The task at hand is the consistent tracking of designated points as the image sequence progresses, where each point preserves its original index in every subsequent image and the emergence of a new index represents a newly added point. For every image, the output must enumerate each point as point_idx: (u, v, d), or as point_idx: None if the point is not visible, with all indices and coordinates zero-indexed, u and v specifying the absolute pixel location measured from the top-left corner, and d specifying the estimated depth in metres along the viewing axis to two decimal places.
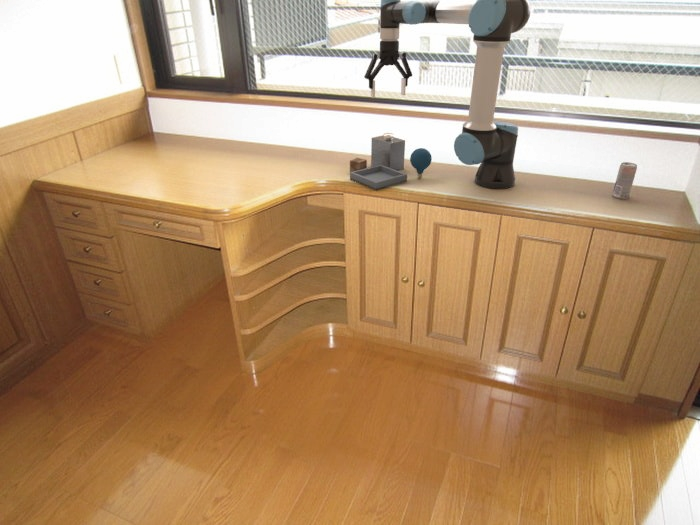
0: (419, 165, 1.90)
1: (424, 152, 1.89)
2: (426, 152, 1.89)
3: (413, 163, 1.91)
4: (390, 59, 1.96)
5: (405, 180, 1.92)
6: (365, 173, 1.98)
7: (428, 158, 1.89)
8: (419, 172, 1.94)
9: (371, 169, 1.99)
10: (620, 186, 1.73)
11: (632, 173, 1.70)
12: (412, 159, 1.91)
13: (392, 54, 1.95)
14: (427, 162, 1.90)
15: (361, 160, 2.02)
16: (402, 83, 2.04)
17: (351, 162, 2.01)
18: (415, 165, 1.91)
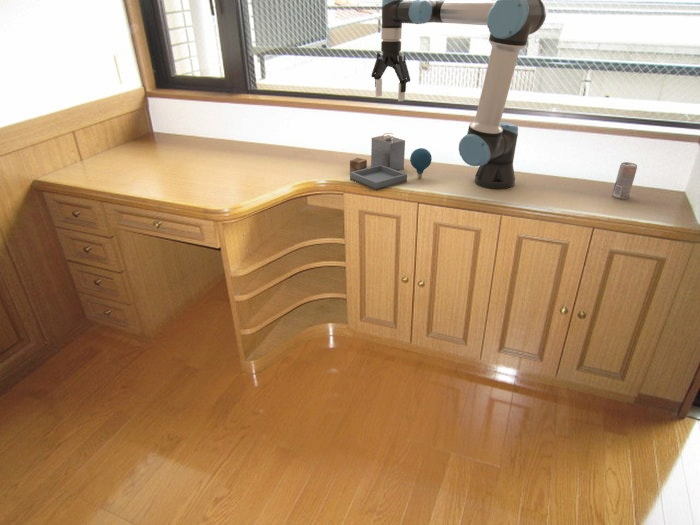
0: (419, 165, 1.90)
1: (424, 152, 1.89)
2: (426, 152, 1.89)
3: (413, 163, 1.91)
4: (388, 60, 1.88)
5: (405, 180, 1.92)
6: (365, 173, 1.98)
7: (428, 158, 1.89)
8: (419, 172, 1.94)
9: (371, 169, 1.99)
10: (620, 186, 1.73)
11: (632, 173, 1.70)
12: (412, 159, 1.91)
13: (390, 55, 1.87)
14: (427, 162, 1.90)
15: (361, 160, 2.02)
16: None
17: (351, 162, 2.01)
18: (415, 165, 1.91)
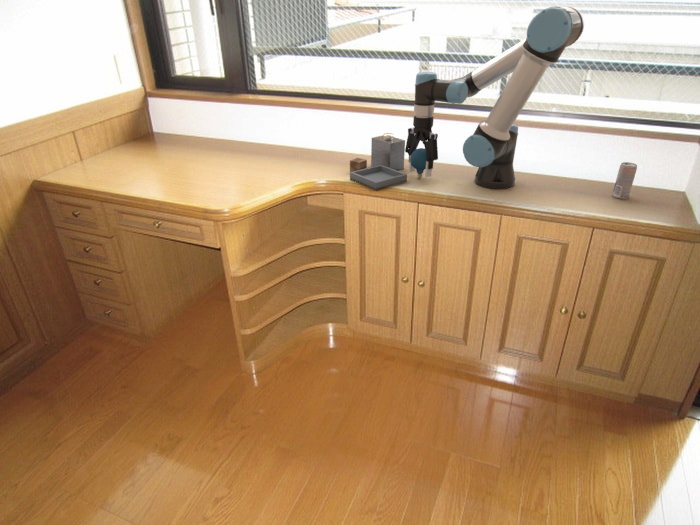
0: (419, 165, 1.90)
1: (424, 152, 1.89)
2: None
3: (413, 163, 1.91)
4: None
5: (405, 180, 1.92)
6: (365, 173, 1.98)
7: None
8: (419, 172, 1.94)
9: (371, 169, 1.99)
10: (620, 186, 1.73)
11: (632, 173, 1.70)
12: (412, 159, 1.91)
13: (423, 129, 1.85)
14: None
15: (361, 160, 2.02)
16: None
17: (351, 162, 2.01)
18: (415, 165, 1.91)
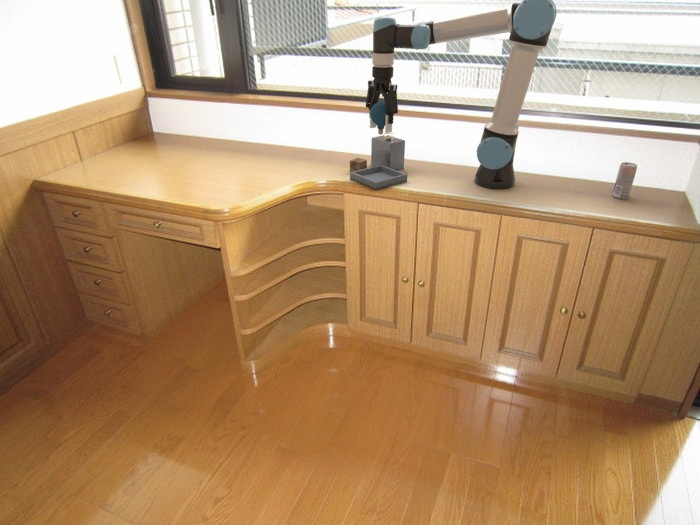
0: (379, 119, 1.79)
1: (384, 106, 1.78)
2: None
3: (373, 117, 1.80)
4: None
5: (405, 180, 1.92)
6: (365, 173, 1.98)
7: None
8: (379, 128, 1.83)
9: (371, 169, 1.99)
10: (620, 186, 1.73)
11: (632, 173, 1.70)
12: (371, 113, 1.80)
13: (382, 80, 1.75)
14: None
15: (361, 160, 2.02)
16: None
17: (351, 162, 2.01)
18: (375, 119, 1.80)
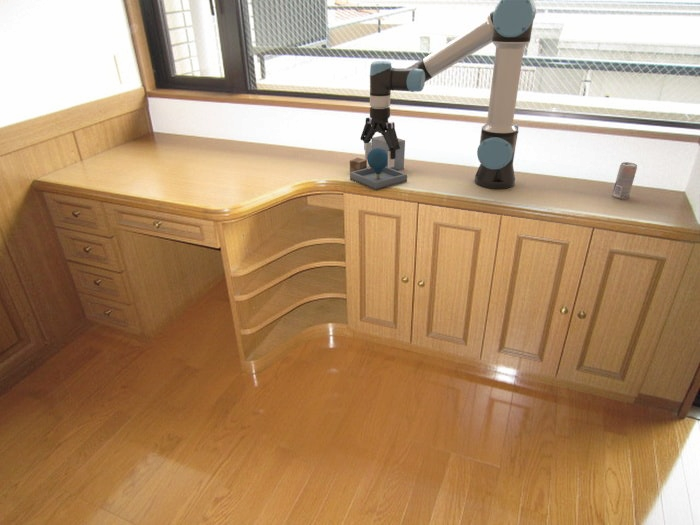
0: (376, 165, 1.87)
1: (380, 152, 1.86)
2: (382, 152, 1.87)
3: (370, 163, 1.88)
4: None
5: (405, 180, 1.92)
6: (365, 173, 1.98)
7: (384, 157, 1.87)
8: (377, 172, 1.91)
9: (371, 169, 1.99)
10: (620, 186, 1.73)
11: (632, 173, 1.70)
12: (369, 159, 1.88)
13: (379, 122, 1.81)
14: (384, 162, 1.87)
15: (361, 160, 2.02)
16: None
17: (351, 162, 2.01)
18: (372, 165, 1.88)
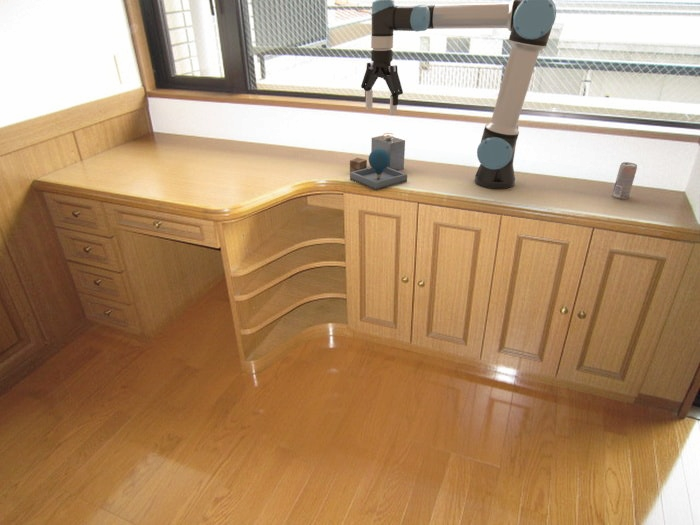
0: (377, 166, 1.87)
1: (382, 153, 1.86)
2: (384, 153, 1.86)
3: (371, 163, 1.88)
4: None
5: (405, 180, 1.92)
6: (365, 173, 1.98)
7: (386, 159, 1.86)
8: (378, 173, 1.91)
9: (371, 169, 1.99)
10: (620, 186, 1.73)
11: (632, 173, 1.70)
12: (370, 159, 1.88)
13: (381, 65, 1.72)
14: (385, 163, 1.87)
15: (361, 160, 2.02)
16: None
17: (351, 162, 2.01)
18: (373, 165, 1.88)
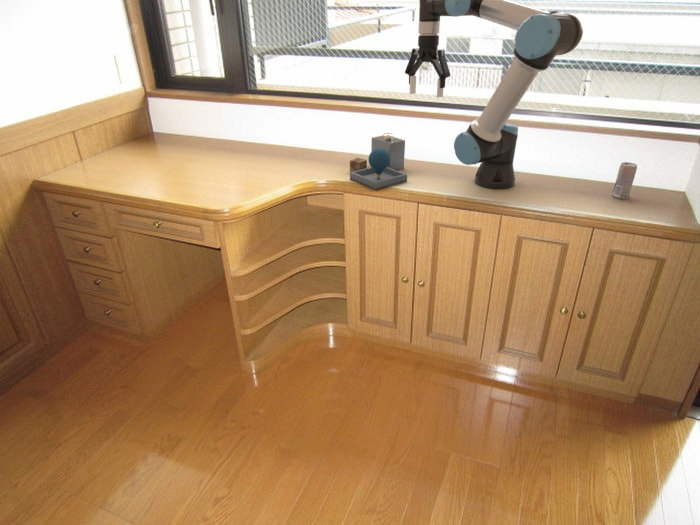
0: (377, 166, 1.87)
1: (382, 153, 1.86)
2: (384, 152, 1.86)
3: (371, 163, 1.88)
4: (426, 55, 1.81)
5: (405, 180, 1.92)
6: (365, 173, 1.98)
7: (386, 159, 1.86)
8: (378, 173, 1.91)
9: (371, 169, 1.99)
10: (620, 186, 1.73)
11: (632, 173, 1.70)
12: (370, 159, 1.88)
13: (428, 50, 1.80)
14: (385, 163, 1.87)
15: (361, 160, 2.02)
16: None
17: (351, 162, 2.01)
18: (373, 165, 1.88)
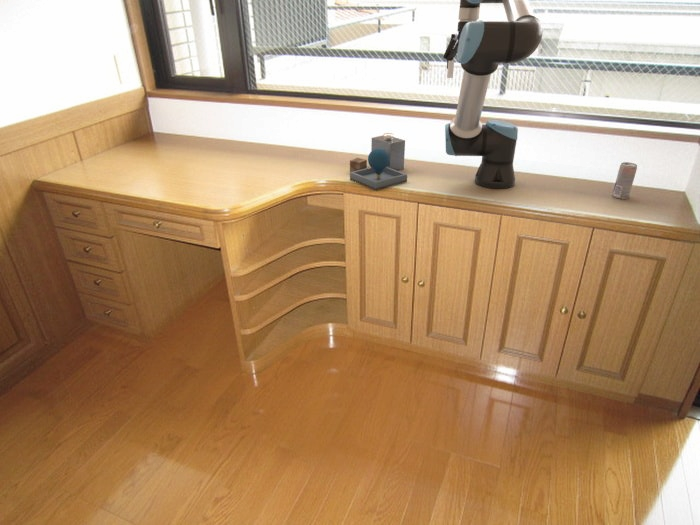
0: (376, 165, 1.87)
1: (381, 153, 1.86)
2: (383, 152, 1.86)
3: (370, 163, 1.88)
4: None
5: (405, 180, 1.92)
6: (365, 173, 1.98)
7: (385, 158, 1.86)
8: (377, 173, 1.91)
9: (371, 169, 1.99)
10: (620, 186, 1.73)
11: (632, 173, 1.70)
12: (369, 159, 1.88)
13: None
14: (384, 162, 1.87)
15: (361, 160, 2.02)
16: None
17: (351, 162, 2.01)
18: (372, 165, 1.88)
